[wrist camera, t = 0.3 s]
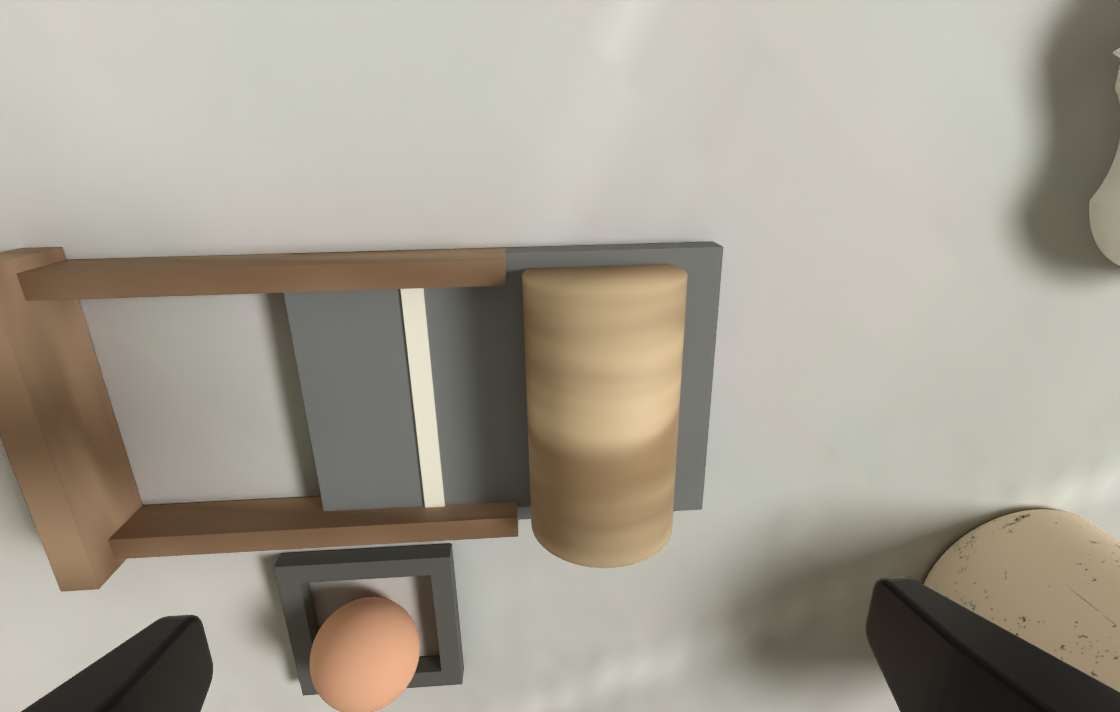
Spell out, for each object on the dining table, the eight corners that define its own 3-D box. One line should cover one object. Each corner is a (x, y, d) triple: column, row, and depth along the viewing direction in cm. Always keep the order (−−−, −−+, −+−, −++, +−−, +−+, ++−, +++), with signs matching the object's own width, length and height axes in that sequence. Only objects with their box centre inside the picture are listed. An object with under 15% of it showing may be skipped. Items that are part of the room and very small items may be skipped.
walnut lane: (518, 512, 23) (518, 564, 20) (117, 533, 22) (60, 591, 20) (505, 235, 19) (503, 252, 17) (22, 247, 19) (-66, 268, 16)
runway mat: (694, 494, 24) (702, 510, 23) (335, 513, 23) (326, 531, 22) (713, 241, 20) (724, 247, 19) (288, 253, 19) (276, 260, 18)
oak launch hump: (654, 478, 24) (688, 562, 19) (530, 484, 23) (533, 572, 19) (665, 254, 21) (709, 290, 16) (521, 259, 20) (522, 296, 16)
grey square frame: (463, 668, 26) (462, 684, 25) (309, 678, 26) (303, 695, 25) (451, 543, 24) (449, 556, 23) (281, 553, 23) (273, 567, 22)
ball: (430, 647, 25) (416, 736, 22) (335, 653, 25) (304, 744, 21) (421, 571, 24) (404, 652, 20) (320, 577, 24) (284, 660, 20)
